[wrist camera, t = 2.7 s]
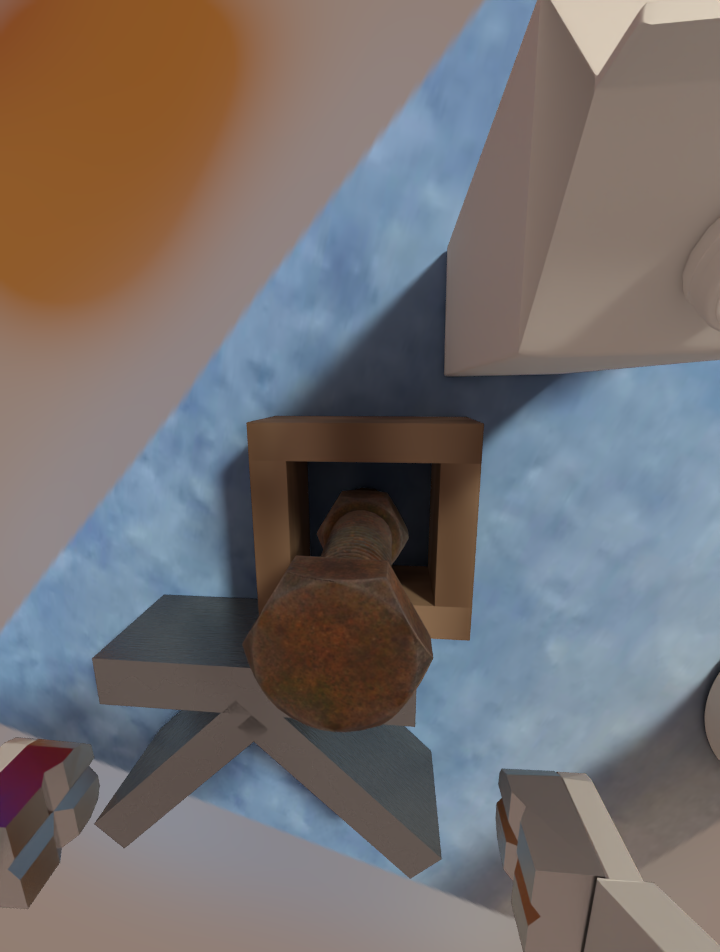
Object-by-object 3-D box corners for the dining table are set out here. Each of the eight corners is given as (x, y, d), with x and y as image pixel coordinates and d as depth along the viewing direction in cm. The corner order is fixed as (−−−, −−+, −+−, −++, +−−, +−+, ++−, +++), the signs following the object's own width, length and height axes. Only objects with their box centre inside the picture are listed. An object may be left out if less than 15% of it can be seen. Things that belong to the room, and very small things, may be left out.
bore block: (466, 416, 24) (483, 423, 19) (456, 594, 27) (469, 640, 22) (275, 416, 25) (246, 422, 20) (283, 587, 28) (259, 629, 23)
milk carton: (446, 247, 22) (689, -436, 4) (577, 240, 22) (1637, -622, 3) (443, 376, 24) (606, 336, 5) (565, 374, 23) (1232, 316, 5)
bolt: (377, 561, 27) (356, 768, 12) (314, 523, 27) (214, 687, 12) (425, 491, 25) (464, 630, 11) (358, 451, 25) (307, 536, 11)
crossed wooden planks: (437, 607, 27) (451, 680, 20) (430, 770, 30) (440, 881, 23) (140, 593, 29) (62, 656, 22) (161, 748, 32) (98, 845, 25)
